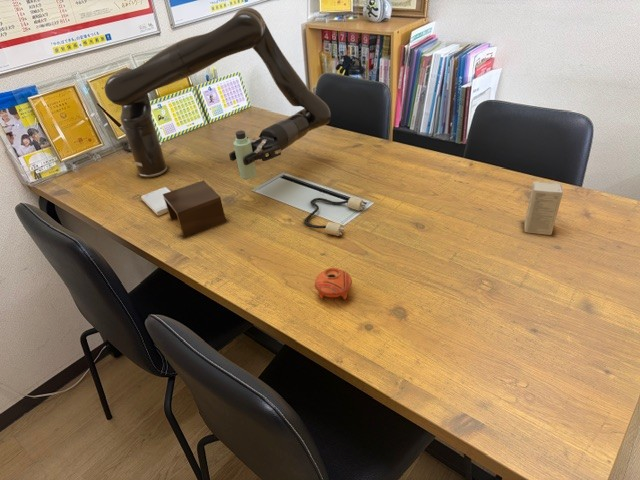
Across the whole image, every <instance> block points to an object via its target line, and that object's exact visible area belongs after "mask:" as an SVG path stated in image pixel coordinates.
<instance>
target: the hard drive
mask: <svg viewBox="0 0 640 480" xmlns="http://www.w3.org/2000/svg"><path fill="white" fill-rule="evenodd" d="M171 191H172V190H170V189H169V188H168V187H167V186H163V187H161V188H159V189H156V190H153V191H150V192H148V193H146V194H143V195H141V196H140V199H141V201H142V202H144V204H145V205H146V206H147V207H148V208H150V209H151V211H152V212H153V213H154V214H155V215H157V217H159V216H163V215H164V214H167V213H168V209H167V206H166V203H165V200H164V197H163V194H165V193H168V192H171Z"/></svg>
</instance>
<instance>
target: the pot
mask: <svg viewBox="0 0 640 480" xmlns="http://www.w3.org/2000/svg"><path fill="white" fill-rule="evenodd" d="M352 284H353V280H352V277H351V274H349V273H348V272H346V271H345V270H343V269H339V268H338V267H329V268H327V269H325V270H323V271H321V272H320V273H319V274H317V276H316V277H315V279H314V287H315V290H317V292H318V295H319V297H320V298H321V299H323V298H324V296H325V297H328V298H338V297H340V296H341V297H342V299H343V300H344V301H345V300H346V299H347V297H348V291H350V289H351V287H352Z"/></svg>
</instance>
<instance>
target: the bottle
mask: <svg viewBox="0 0 640 480" xmlns="http://www.w3.org/2000/svg"><path fill="white" fill-rule="evenodd" d="M247 137H248V136H247V135H246V132H245V130H238V131H236V132H235V138H234V139H235V140H234V141H233V144H232V145H233V149H234V151H235V154H236V164H237V168H238V173H239V178H241V179H242V180H251V179H254V178H256V177H257V169H256V163H255V162H256V161H254V162H252V163H250V164H248V165H244V163H243V157H245V156H247V155H249V154H250V153H252V152H253V151H252V145H251V140H252V139H250V138H248V139H247Z"/></svg>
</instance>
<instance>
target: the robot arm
mask: <svg viewBox="0 0 640 480" xmlns="http://www.w3.org/2000/svg"><path fill="white" fill-rule="evenodd" d="M250 49H253V51H254V52H256V54H257V55H258V56H259V58H260V59H261V60H262V62H263V63H264V65H265V67H266V68H267V71H268V73H269V74H270V76H271V78H272V80H273V82H274V84H275V85H276V87H277V88H278V90H279V91H280V92H281V94H282V95H283V97H285V99H286V100H287V102H288V103H289V104H290V105H291V106H292V107H302V109H300V110H299V111H297V112H295V113H294V114H292V115H290V116H288V117H286V118H284V119H282V120H279V121H277V122H275V123H273V124H271V125H269V126H267V127H265V128H264V129H262V130H261V131H260V133H259V136H258V137H254V138H252V139H250V140H251V145H252V151H253V152H252V153H250V154H249V155H247V156H245V157H243V163H244V165H248V164H250V163H252V162H256V161H257V162H258V161H260V160H261V161H262V162H267V161H269V160H272V159H274V158H277V157H279V156H282V151H283V150H285V149H287V148H289V147H290V146H291V145H293V144H294V143H296V141H298V140H301V139H302V138H304V137H305V136H306V135H307V134H308V133H309V132H311V131H313V130H315V129H319V128H321V127H324V126H326V125H328V124H329V123H330V121H331V119H332V114H331V113H332V112H331V109H330V108H329V105H328V104H327V103H326V102H325V101H324V100H322V98H321V97H319V96H318V95H317V94H315V93H314V92H313V91H312V90H311V89H309V88H308V86H307V85H306V83H305V82H304V81H303V79H302V78H301V77H300V75H299V74H298V73H297V72H296V70H295V69H294V67H293V66H292V64H291V63H290V61H289V60H288V59H287V57H286V56H285V55H284V52H282V50H281V48H280V47H279V44H277V42H276V40H275V38H274V37H273V35H272V33H271V31H270V28H269V27H268V24H267V23H266V21H265V19H264V17H263V16H262V14H261V13H260V12H259V11H258V10H257V9H255V8H253V7H243V8H241V9H239V10H238V11H237V12H236V13H235V14H234V15H233V16H232V17H231V18H230V19H229V20H228V21H226V22H225V23H223V24H222V25H220V26H218V27H216V28H215V29H213V30H211V31H209V32H206V33H203V34H199V35H194V36H189V37H187V38H184V39H181V40H179V41H177V42H175V43H173V44H171V45H169V46H168V47H166V48H164V49H162V50H160V51H159V52H157V53H156V54H155V55H153V56H152V57H150V58H149V59H148V60H147V61H145V62H144V63H142V64H140V65H139V66H137V67H135V68H130V67H123V68H120V69H119V70H117V71H116V72H115V73H113V74H111V75H110V76H109V77H108V78H107V80H106V81H105V84H104V94H105V96H106V98H107V100H108V101H110V102H111V103H112V104H113V105H117V106H121V112H120V117H119V119H120V123H121V126H122V128H123V131H124V134H125V137H126V139H127V143H128V145H129V148H127V147H126V145H127V143H126V142H125V141H123V142H122V148H123V150H125V151H127V152H131V154H132V157H133V161H134V165H135V166H136V169H137V173H138V175H139V177H141V178H145V179H149V178H155V177H159V176H161V175H163V174H165V173H166V172H167V171H168V165H167V163H166V158H165V156H164V153H163V149H162V146H161V143H160V140H159V137H158V133H157V130H156V126H155V124H154V120H153V116H152V105H151V101H150V97H149V94H150V93H151V92H154V91H156V90H159V89H160V88H163V87H166V86H169V85H172V84H174V83H177V82H179V81H182V80H184V79H187V78H189V77H191V76H193V75H195V74H197V73H200V72H201V71H203V70H205V69H207V68H208V67H211V66H212V65H214V64H215V63H217V62H218V61H221V60H222V59H224V58H227V57H230V56H232V55H235V54H239V53H241V52H245V51H248V50H250ZM247 139H249V137H248V136H247ZM228 156H229V160H230V161H232V162H234V161H237V159H236V154H235V150H233V151H231V152H229V153H228Z"/></svg>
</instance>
